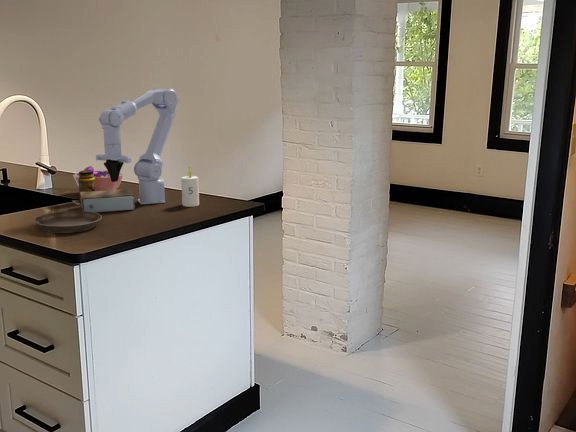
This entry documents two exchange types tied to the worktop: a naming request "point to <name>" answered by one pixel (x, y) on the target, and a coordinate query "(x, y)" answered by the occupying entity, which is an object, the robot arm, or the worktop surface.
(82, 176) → the condiment
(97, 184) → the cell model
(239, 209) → the worktop surface
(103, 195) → the cabinet
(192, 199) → the candle
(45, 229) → the plant saucer
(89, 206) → the door
